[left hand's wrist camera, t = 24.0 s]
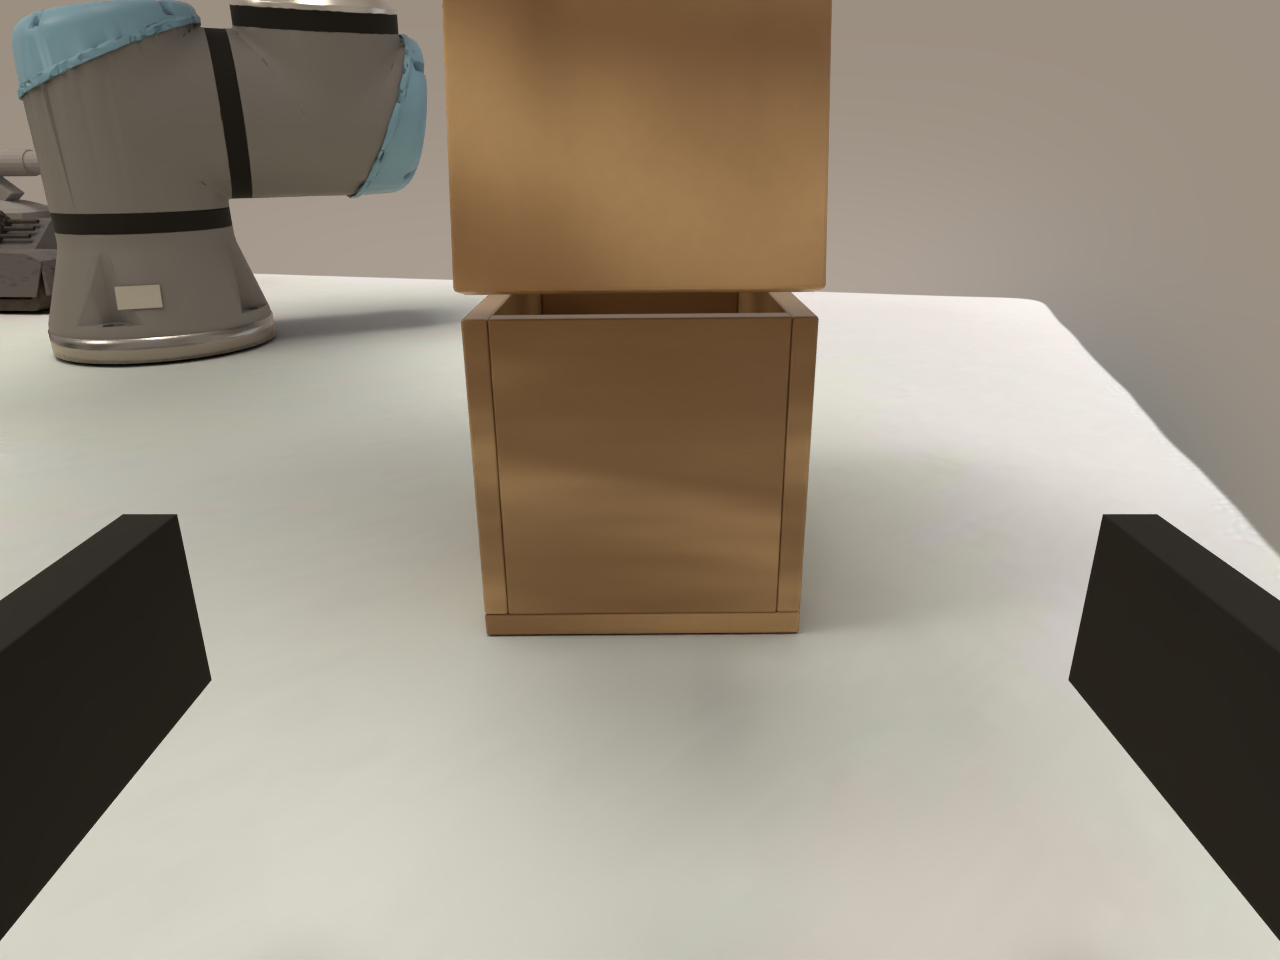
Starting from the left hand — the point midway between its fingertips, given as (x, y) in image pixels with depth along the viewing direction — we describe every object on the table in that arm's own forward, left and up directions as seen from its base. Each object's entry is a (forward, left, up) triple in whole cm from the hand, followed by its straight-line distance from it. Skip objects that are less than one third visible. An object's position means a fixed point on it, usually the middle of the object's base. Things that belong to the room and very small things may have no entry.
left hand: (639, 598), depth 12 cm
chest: (+18, +5, -8) cm, 20 cm away
